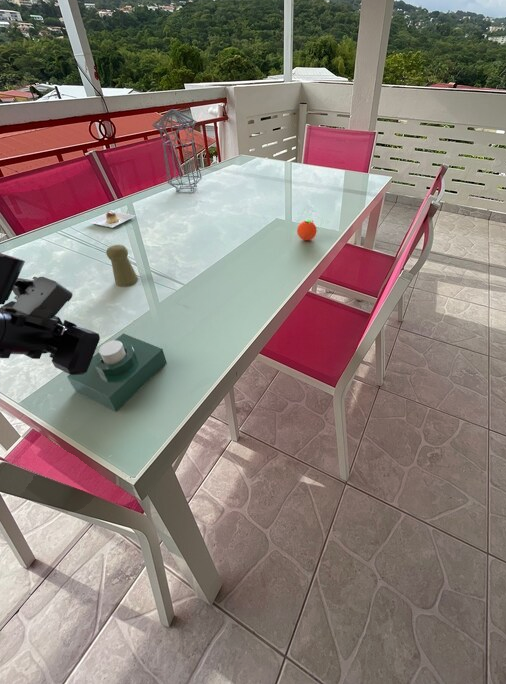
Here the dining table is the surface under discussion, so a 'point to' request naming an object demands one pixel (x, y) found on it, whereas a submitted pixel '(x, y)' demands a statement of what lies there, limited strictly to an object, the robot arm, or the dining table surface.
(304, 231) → the clementine
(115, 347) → the white push button
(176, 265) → the dining table surface
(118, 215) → the dessert
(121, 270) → the cork
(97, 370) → the green push button box
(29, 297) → the robot arm
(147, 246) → the dining table surface
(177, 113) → the geometric lantern
